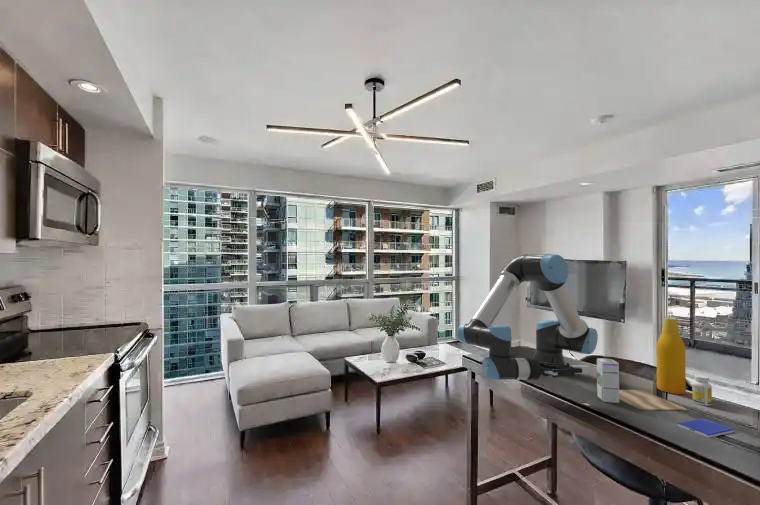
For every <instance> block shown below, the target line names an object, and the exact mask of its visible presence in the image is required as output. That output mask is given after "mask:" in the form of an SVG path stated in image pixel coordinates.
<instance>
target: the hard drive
mask: <svg viewBox="0 0 760 505" xmlns="http://www.w3.org/2000/svg"><path fill="white" fill-rule="evenodd" d="M676 426H677V427H678V428H681V429H685V430H687V431H689V432H692V433H695V434H698V435H700V436H704V437H706V438H712V437H717V436H722V435H726V434H731V433H734V432H735V431H734V430H735V429H734V428H733V427H730V426H728V425H724V424H721V423H718V422H715V421H713V420H709V419H706V418H697V419H692V420H689V421H682V422H679V423H676Z"/></svg>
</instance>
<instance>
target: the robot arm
mask: <svg viewBox="0 0 760 505" xmlns="http://www.w3.org/2000/svg"><path fill="white" fill-rule="evenodd" d="M568 266H569V265H568V263H567V261H566V260H565V258H564V257H563V256H561V255H560V254H557V253H556V254H553V253H545V254H544V253H543V254H542V253H538V254H536V253H535V254H534V253H533V254H526V253H525V254H521V255H518V256H516V257H514V258H512V259H511V260H510V261H508V262H507V263H506V264H505V265H504V266H503V268H501V270H500V271H499V273H498V275H497V280H496V281H495V283H494V285H493V286H492V288H490V291H489V292H488V294H487V295H486V297H485V298H484V300H483V301H482V303H481V304H480V306H479V307H478V308H477V309H476V312H475V313H474V315H473V316H472V318H471V319H470V320H469V322H468V323H462V324H460V325H459V326H458V327H457V331H456V336H457V339H458V341H460V342H461V343H463V344H467V345H470V346H476V347H480V348H484V349H488V350H489V351H488V352H489V356H487V357H484V358H483V360H482V363H481V370H482V374H483V375H484V378H486V379H488V380H497V381H501V380H502V381H503V380H505V381H506V380H510V381H511V380H516V381H517V382H520V380H524V381H525V380H528V381H537V380H539V379H540V377H541V376H544V377H548V376H552V378H555V379H557V378H559V377H561V378H562V377H574V376H575V375H590V368H591V367H590V366H589V365H583V364H581V365H579V364H576V365H575V364H574V365H573V364H572V365H571V364H570V363H569V362H566V361H565V357H564V354H563V353H564V352H563V350H564V351H568V352H573V353H578V354H581V355H591V354H592V353H594V351H595V350H596V348H597V344H598V340H599V339H598V338H599V337H598V336H599V335H598V330H597V329H596V328H593V327H589V325H588V323H587V322H586V321H585V320H584V319H582V318H581V317H580V315H579V313H578V311H577V308H576V306H575V304H574V302H573V299H572V298H571V295H570V293H569V291H568V289H567V286H566V283H567V279H568V278H569V274H570V272H569V270H568V269H569V267H568ZM525 282H527V283H535V284H536V285H535V286H536V287H537V288H538V289H539V290H540V291H541V292H544V294H545V297H546V298H547V300H548V303H549V305H550V307H551V309H552V311H553V312H554V314H555V317H556V319H555V320H539V321H538V322H536V326H535V328H536V329H535V334H536V335H535V336H536V338H535V341H536V342H535V353H534V356H533V357H532V358H531V357H529V358H528V357H526V358H524V357H512V328H511V327H510V325H508V324H501V323H494V321H495V320H496V318H497V316H498V315H499V314H500V311H501V310H502V309H503V307H504V306H505V304H506V302H507V301H508V299H509V298H510V296H511V295H512V293H513V291H514V290H515V289H517V288H519V287H520V285H521V284H522V283H525Z"/></svg>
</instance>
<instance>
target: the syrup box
mask: <svg viewBox="0 0 760 505" xmlns="http://www.w3.org/2000/svg"><path fill="white" fill-rule="evenodd" d="M619 368H620V364H619V362H617V361H616V360H614V359H611V358H605V357H604V358H596V397H597V399H599V400H601V401H602V402H605V403H615V404H620V400H619V390H620V372H619V371H620V370H619Z"/></svg>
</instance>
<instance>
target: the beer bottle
mask: <svg viewBox="0 0 760 505" xmlns="http://www.w3.org/2000/svg"><path fill="white" fill-rule="evenodd" d="M686 375H687V374H686V345H685V343H684V341H683V338H682V337H681V335H680V329H679V322H678V319H677V318H670V317H664V318H663V325H662V332H661V334H660V335H659V338H658V340H657V342H656V388H657V389H659V391H660V390H661V391H660V392H663V391H665V392H664V393H666V392H668V393H667V394H671V393H673V394H672V395H678V394H682V395H685V394H686V390H687V385H686V384H687V383H686Z"/></svg>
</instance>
